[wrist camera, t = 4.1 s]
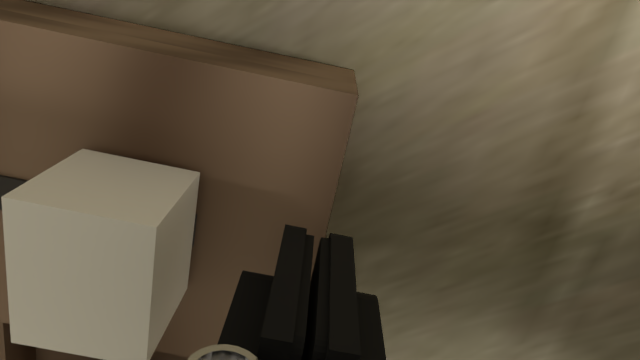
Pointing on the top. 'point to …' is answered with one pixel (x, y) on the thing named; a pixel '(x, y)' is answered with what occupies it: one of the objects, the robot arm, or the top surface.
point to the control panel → (176, 141)
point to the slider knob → (98, 254)
